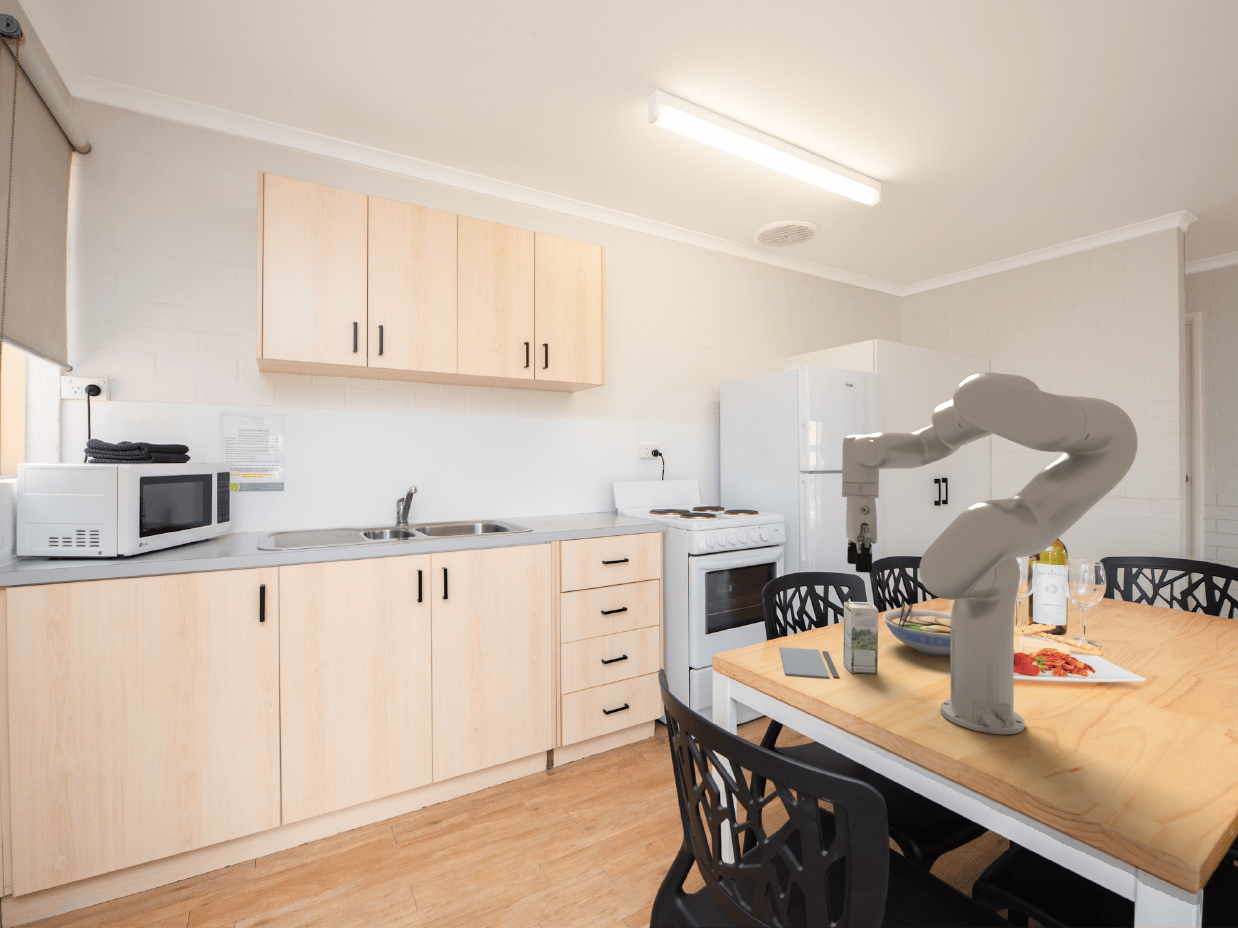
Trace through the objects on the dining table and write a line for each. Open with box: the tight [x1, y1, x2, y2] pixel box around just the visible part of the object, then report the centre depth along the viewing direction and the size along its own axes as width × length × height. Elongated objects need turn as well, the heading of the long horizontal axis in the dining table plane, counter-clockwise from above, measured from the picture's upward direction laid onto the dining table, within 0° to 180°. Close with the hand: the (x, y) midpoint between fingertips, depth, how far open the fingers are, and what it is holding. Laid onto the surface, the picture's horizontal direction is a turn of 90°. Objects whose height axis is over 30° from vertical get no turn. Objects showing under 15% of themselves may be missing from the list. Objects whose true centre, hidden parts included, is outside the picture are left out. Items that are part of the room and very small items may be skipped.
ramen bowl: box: [882, 602, 951, 657], centre depth 140 cm, size 25×23×8 cm
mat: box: [779, 646, 830, 679], centre depth 132 cm, size 18×9×1 cm, turn 168°
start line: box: [822, 650, 840, 679], centre depth 131 cm, size 17×1×1 cm, turn 168°
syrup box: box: [843, 601, 879, 675], centre depth 127 cm, size 6×6×14 cm
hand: (859, 567), depth 128 cm, fingers open, 9 cm apart
